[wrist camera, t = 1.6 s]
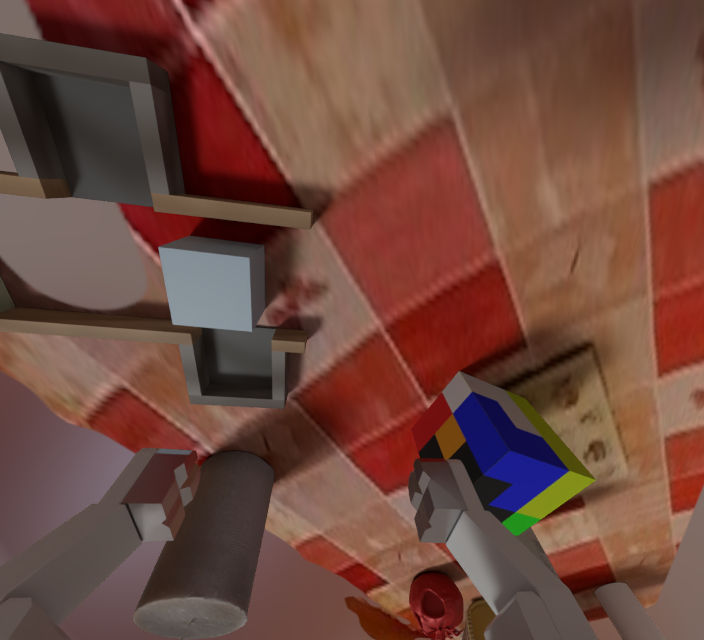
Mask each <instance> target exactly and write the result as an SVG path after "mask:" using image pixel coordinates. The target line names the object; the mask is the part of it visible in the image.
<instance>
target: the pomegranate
mask: <svg viewBox="0 0 704 640" xmlns="http://www.w3.org/2000/svg"><path fill="white" fill-rule="evenodd" d="M409 604H410V606H411V609H412V611H413V613H414V616H415V618H416V620H417V622H418V623H419V625H420V627H421V629H422V631H421V632H424V633H425V634H426V635H427V636H428V635H430V634H433V633H435V632H436V637H435V638H433V639H431V640H438V638H439V636H440V639H441V640H445V636H448V637H449V638H450V639H451V638H453V637H452V636H451V637H450V636H449V635H448V634H447V631H449V632H450V633H452V634H453V635H454V636H459V635H460V633H461V632H462V631H463V630H464V629H463V630H461V631H460V632H459V633H457V634H455V633H454V632H453V631H454V628H455V627H457V626H458V625H459V624H460V623H461V622H462V619H463V598H462V595H461V593H460V591H459V589H458V587H457V586H456V585H455V583H454V582H453V581H452V579H450V578H449V577H447V576H446V575H444V574H441V573H437V572H428V573H424V574H422V575H420V576H419V577H417V578H416V579H415V580H413V582H412V584H411V587H410V595H409ZM426 632H428V633H426Z"/></svg>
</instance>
